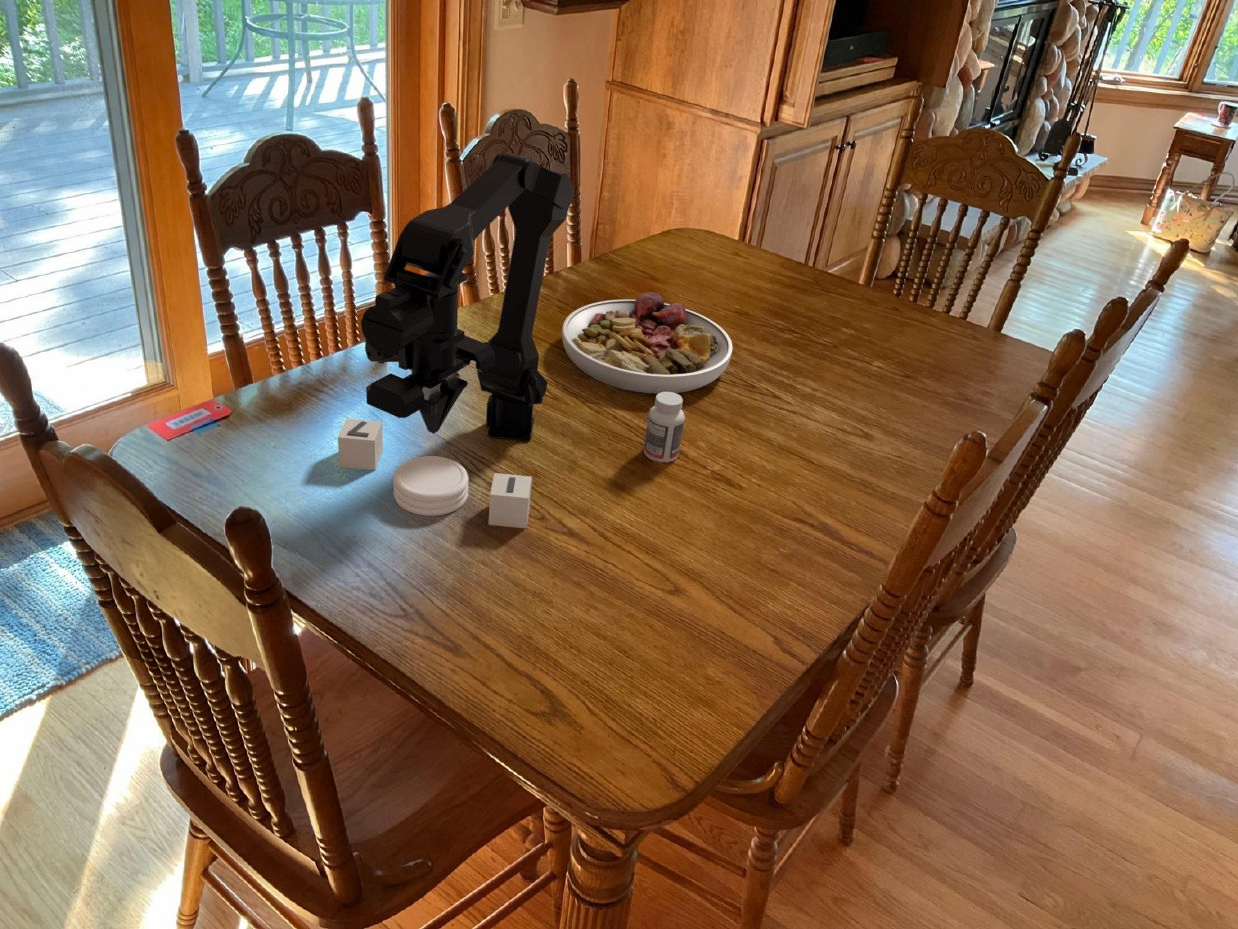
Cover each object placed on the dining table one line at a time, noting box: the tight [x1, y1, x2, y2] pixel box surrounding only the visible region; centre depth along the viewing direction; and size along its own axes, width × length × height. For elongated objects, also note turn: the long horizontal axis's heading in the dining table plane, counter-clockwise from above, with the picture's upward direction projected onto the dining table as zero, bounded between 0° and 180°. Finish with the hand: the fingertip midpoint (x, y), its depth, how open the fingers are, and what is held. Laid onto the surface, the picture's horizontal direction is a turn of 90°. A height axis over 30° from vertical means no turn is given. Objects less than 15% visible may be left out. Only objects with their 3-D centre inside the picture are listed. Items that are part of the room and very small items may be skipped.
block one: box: [488, 472, 533, 529], centre depth 130 cm, size 5×5×5 cm
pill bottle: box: [643, 392, 686, 463], centre depth 145 cm, size 5×5×10 cm
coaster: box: [392, 455, 469, 517], centre depth 132 cm, size 10×10×4 cm
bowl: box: [561, 291, 733, 395], centre depth 172 cm, size 30×30×8 cm
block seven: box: [337, 418, 384, 471], centre depth 137 cm, size 5×5×5 cm
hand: (433, 431), depth 128 cm, fingers closed
